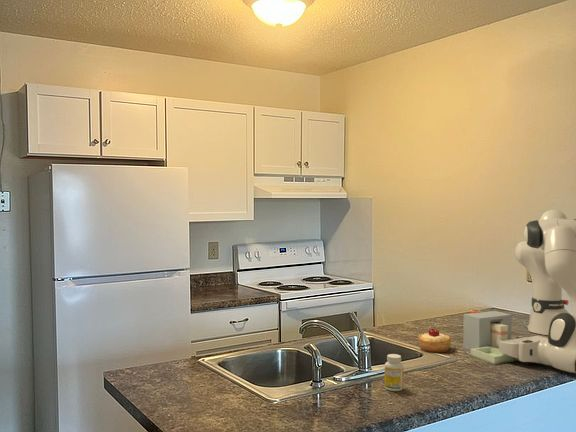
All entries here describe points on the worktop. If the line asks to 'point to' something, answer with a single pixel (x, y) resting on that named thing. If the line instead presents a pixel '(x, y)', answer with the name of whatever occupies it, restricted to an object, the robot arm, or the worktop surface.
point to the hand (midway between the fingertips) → (507, 340)
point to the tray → (491, 355)
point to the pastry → (434, 341)
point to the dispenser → (482, 328)
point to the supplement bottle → (394, 373)
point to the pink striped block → (498, 334)
